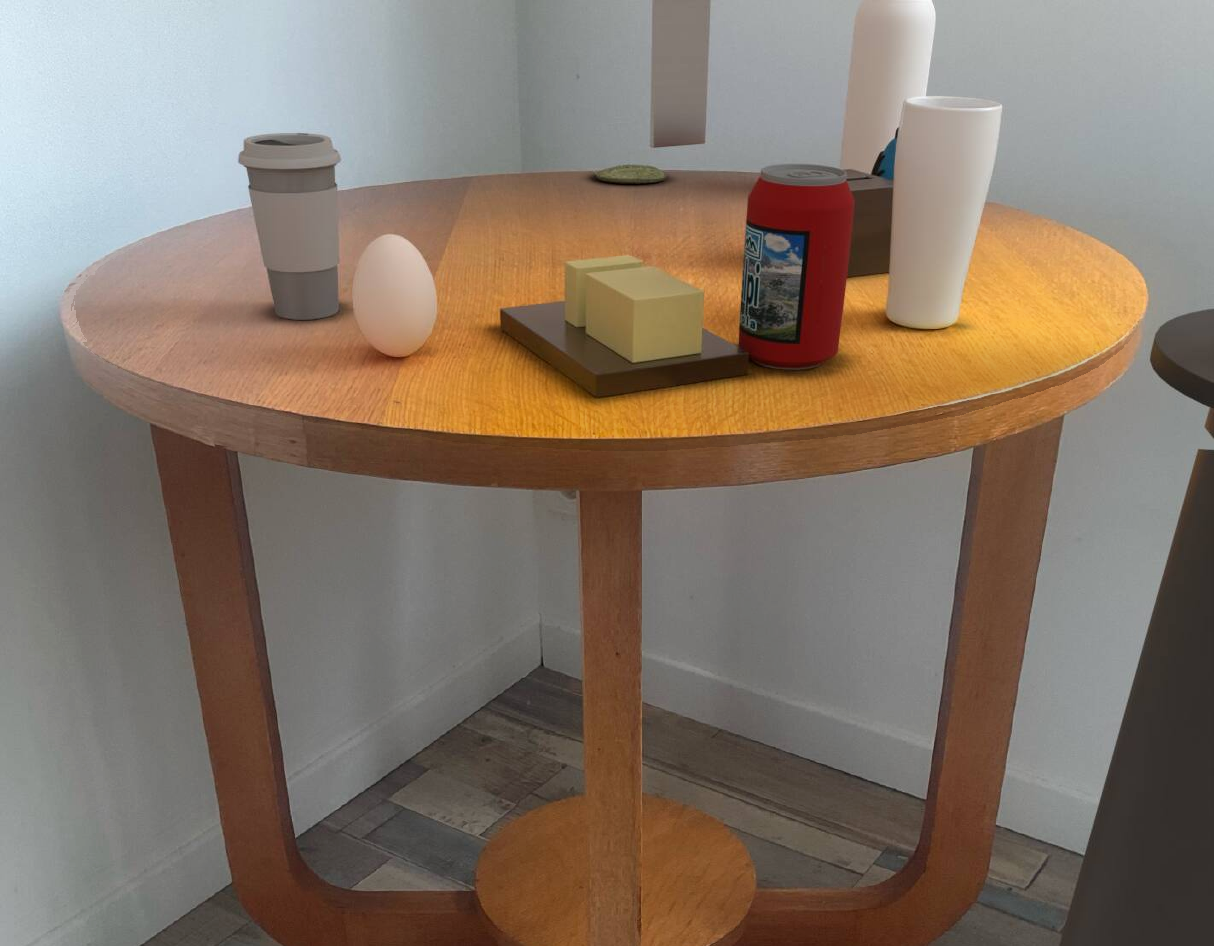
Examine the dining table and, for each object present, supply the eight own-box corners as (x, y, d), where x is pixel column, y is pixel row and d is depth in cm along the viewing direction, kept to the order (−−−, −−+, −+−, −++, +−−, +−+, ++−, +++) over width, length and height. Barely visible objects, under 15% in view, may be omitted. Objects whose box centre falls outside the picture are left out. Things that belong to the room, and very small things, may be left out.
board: (748, 374, 79) (749, 352, 78) (596, 398, 74) (596, 374, 74) (636, 311, 91) (636, 291, 90) (500, 328, 87) (499, 308, 86)
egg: (391, 374, 78) (380, 248, 74) (341, 355, 81) (328, 233, 77) (456, 356, 81) (450, 235, 77) (406, 338, 85) (397, 221, 81)
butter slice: (641, 319, 84) (643, 260, 82) (576, 327, 82) (576, 268, 80) (628, 312, 86) (629, 254, 83) (564, 320, 84) (564, 261, 82)
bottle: (867, 205, 126) (907, -135, 111) (821, 191, 132) (853, -133, 117) (927, 198, 130) (974, -133, 114) (880, 185, 136) (918, -131, 120)
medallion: (676, 174, 139) (676, 168, 139) (648, 186, 133) (649, 179, 133) (613, 168, 142) (613, 162, 142) (583, 179, 136) (583, 172, 136)
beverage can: (720, 349, 83) (730, 165, 77) (805, 339, 85) (822, 159, 79) (766, 379, 78) (782, 184, 72) (856, 368, 80) (879, 177, 74)
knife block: (897, 271, 102) (909, 184, 99) (829, 279, 100) (838, 191, 96) (842, 250, 109) (851, 168, 105) (776, 258, 106) (783, 174, 102)
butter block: (701, 353, 78) (705, 290, 75) (632, 363, 76) (634, 299, 74) (651, 324, 83) (652, 265, 81) (585, 333, 81) (585, 273, 79)
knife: (711, 145, 81) (723, -137, 73) (659, 149, 80) (664, -138, 71) (695, 140, 83) (705, -136, 75) (644, 144, 81) (647, -137, 73)
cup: (368, 302, 92) (353, 134, 86) (335, 327, 87) (316, 149, 81) (281, 296, 93) (260, 130, 87) (242, 320, 88) (217, 144, 82)
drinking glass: (864, 326, 88) (891, 104, 81) (887, 304, 94) (914, 93, 86) (957, 339, 86) (994, 111, 78) (975, 315, 91) (1012, 99, 83)
